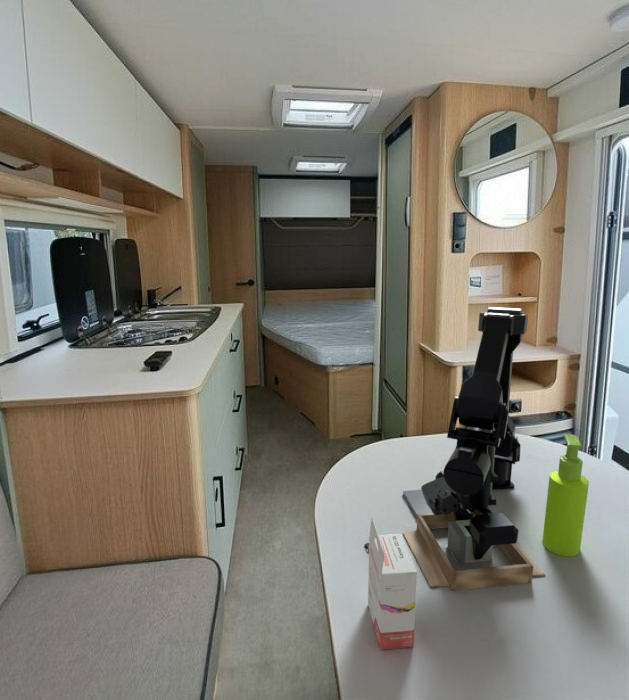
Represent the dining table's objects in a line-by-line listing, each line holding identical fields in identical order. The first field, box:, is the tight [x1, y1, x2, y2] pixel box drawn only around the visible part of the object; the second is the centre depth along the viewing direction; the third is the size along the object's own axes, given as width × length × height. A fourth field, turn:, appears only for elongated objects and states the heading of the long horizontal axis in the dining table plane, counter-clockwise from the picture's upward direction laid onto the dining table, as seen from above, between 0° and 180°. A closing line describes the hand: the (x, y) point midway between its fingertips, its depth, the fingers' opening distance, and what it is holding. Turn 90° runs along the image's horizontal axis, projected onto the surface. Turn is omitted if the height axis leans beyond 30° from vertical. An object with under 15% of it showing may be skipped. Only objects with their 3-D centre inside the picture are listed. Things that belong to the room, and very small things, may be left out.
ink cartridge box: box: [367, 518, 418, 651], centre depth 64 cm, size 9×5×15 cm, turn 5°
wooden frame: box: [402, 513, 546, 592], centre depth 80 cm, size 19×16×3 cm
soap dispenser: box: [542, 433, 590, 557], centre depth 80 cm, size 6×7×20 cm
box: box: [446, 520, 494, 564], centre depth 80 cm, size 6×4×5 cm
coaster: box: [402, 489, 432, 519], centre depth 95 cm, size 11×10×1 cm
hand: (469, 547), depth 80 cm, fingers open, 6 cm apart
